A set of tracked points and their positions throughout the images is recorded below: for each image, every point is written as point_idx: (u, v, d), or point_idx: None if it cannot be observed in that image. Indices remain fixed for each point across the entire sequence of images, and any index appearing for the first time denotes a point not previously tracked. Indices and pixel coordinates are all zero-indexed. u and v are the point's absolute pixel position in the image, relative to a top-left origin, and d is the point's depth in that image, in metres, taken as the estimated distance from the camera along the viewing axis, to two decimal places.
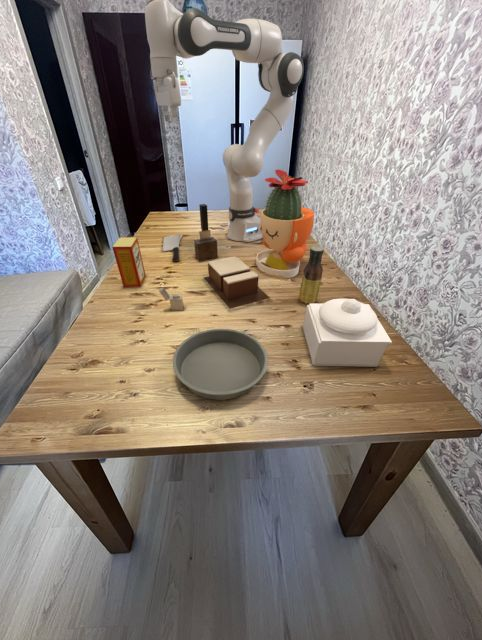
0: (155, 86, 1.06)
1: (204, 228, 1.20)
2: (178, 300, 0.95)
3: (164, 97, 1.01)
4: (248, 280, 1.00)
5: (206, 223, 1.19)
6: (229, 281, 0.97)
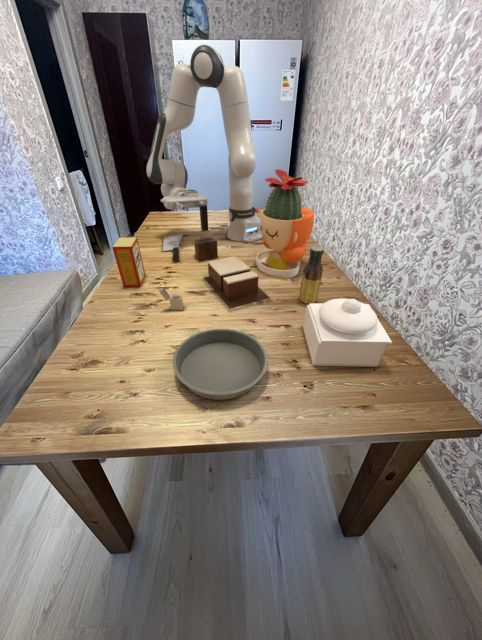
0: None
1: (204, 228, 1.20)
2: (178, 300, 0.95)
3: None
4: (248, 280, 1.00)
5: (206, 223, 1.19)
6: (229, 281, 0.97)
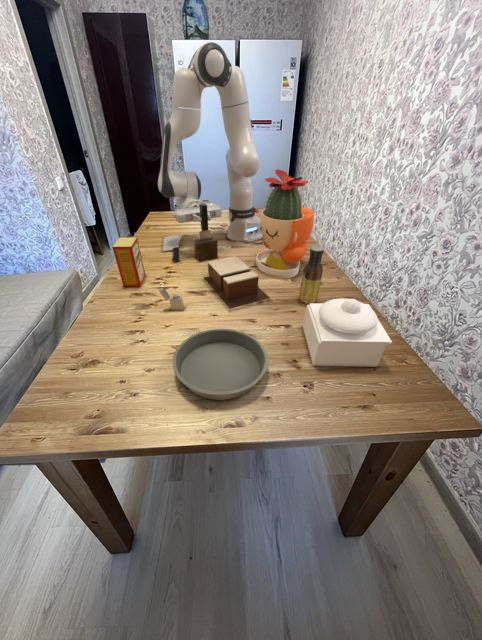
0: None
1: (204, 228, 1.20)
2: (178, 300, 0.95)
3: None
4: (248, 280, 1.00)
5: (206, 223, 1.19)
6: (229, 281, 0.97)
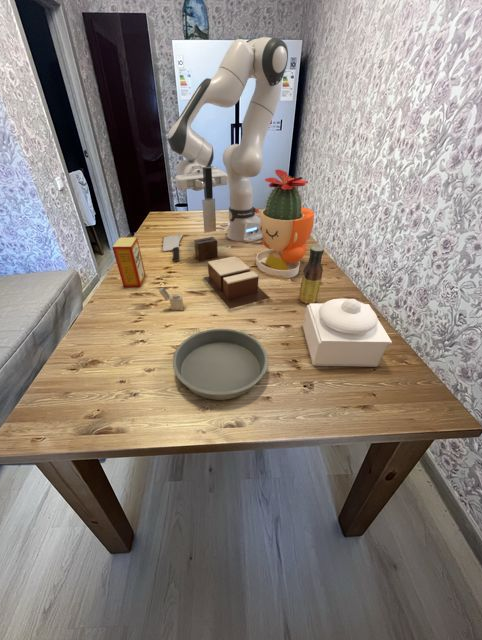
0: None
1: (208, 196, 1.05)
2: (178, 300, 0.95)
3: None
4: (248, 280, 1.00)
5: (210, 190, 1.04)
6: (229, 281, 0.97)
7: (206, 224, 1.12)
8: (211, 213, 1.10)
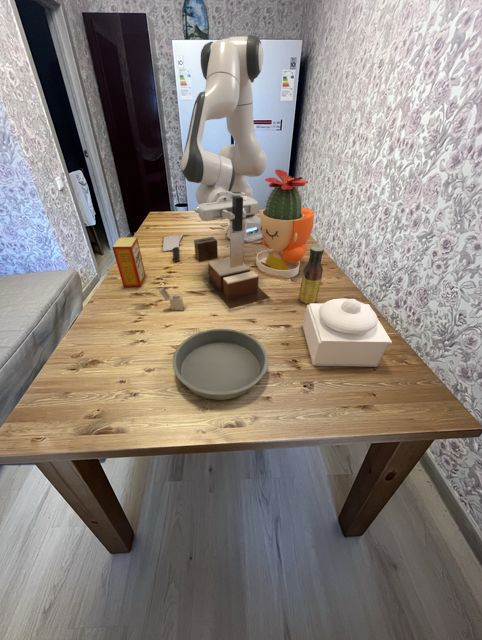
0: None
1: (237, 228, 0.90)
2: (178, 300, 0.95)
3: None
4: (248, 280, 1.00)
5: (240, 221, 0.89)
6: (229, 281, 0.97)
7: (232, 258, 0.97)
8: (239, 246, 0.96)
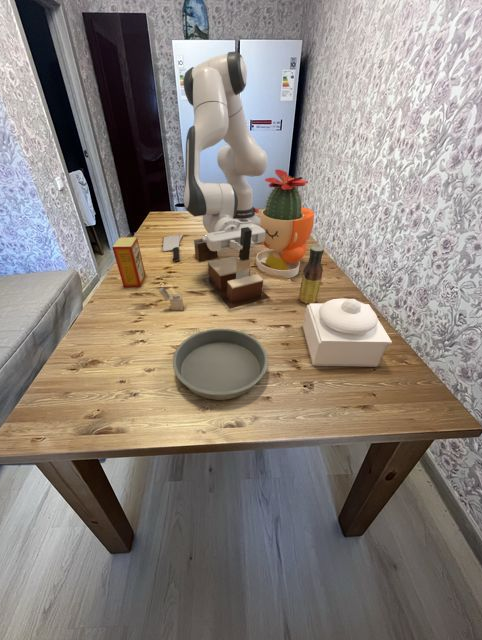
0: None
1: (244, 258, 0.92)
2: (178, 300, 0.95)
3: None
4: (253, 284, 0.97)
5: (247, 252, 0.90)
6: (233, 285, 0.95)
7: None
8: (244, 273, 0.97)
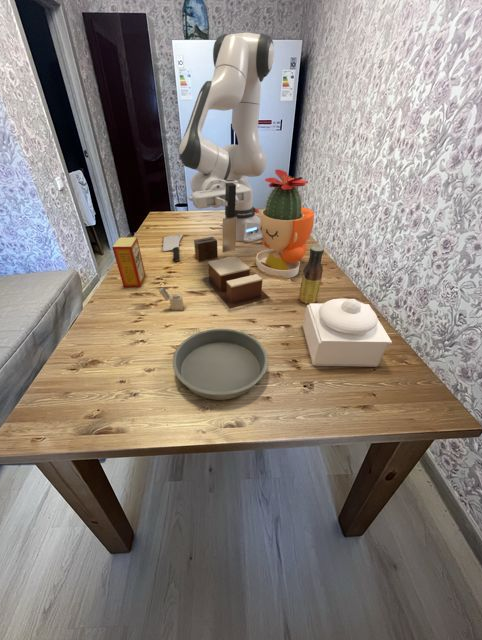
0: None
1: (230, 215, 0.93)
2: (178, 300, 0.95)
3: None
4: (252, 283, 0.98)
5: (233, 208, 0.92)
6: (232, 284, 0.95)
7: (225, 244, 1.01)
8: (231, 232, 0.99)
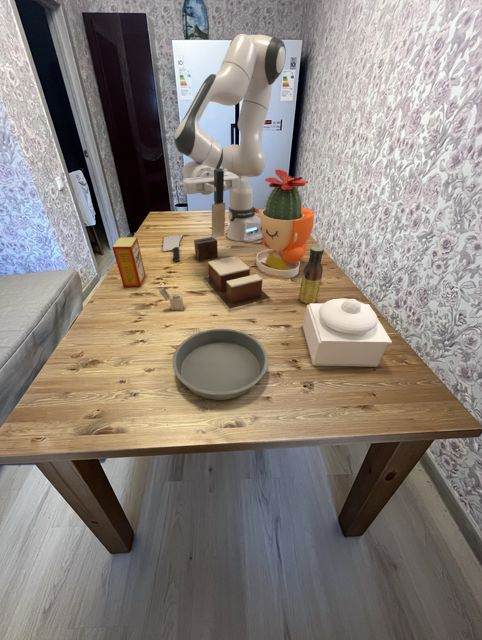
0: None
1: (218, 200, 0.97)
2: (178, 300, 0.95)
3: None
4: (252, 283, 0.98)
5: (221, 194, 0.96)
6: (232, 284, 0.95)
7: (214, 229, 1.05)
8: (220, 218, 1.03)
